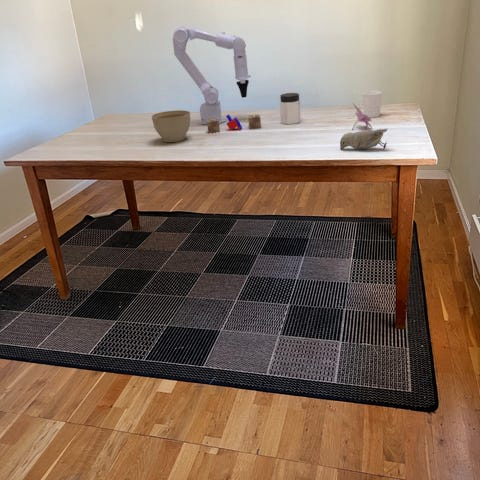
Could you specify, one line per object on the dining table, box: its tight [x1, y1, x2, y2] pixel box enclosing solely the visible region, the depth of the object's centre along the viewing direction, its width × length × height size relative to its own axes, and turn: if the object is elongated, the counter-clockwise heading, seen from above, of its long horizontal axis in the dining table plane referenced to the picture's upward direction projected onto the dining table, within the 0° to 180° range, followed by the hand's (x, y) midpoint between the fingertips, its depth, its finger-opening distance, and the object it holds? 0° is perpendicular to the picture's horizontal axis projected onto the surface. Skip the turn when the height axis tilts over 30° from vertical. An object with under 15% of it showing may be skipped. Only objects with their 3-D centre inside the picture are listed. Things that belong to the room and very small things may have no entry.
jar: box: [279, 92, 301, 125], centre depth 219 cm, size 9×8×12 cm
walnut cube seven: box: [206, 119, 221, 134], centre depth 218 cm, size 5×5×5 cm
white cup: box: [362, 90, 383, 119], centre depth 216 cm, size 8×8×10 cm
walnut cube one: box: [247, 114, 262, 130], centre depth 217 cm, size 5×5×5 cm
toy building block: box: [225, 114, 243, 131], centre depth 217 cm, size 4×4×8 cm
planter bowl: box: [150, 109, 191, 143], centre depth 209 cm, size 16×16×11 cm
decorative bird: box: [339, 128, 388, 151], centre depth 174 cm, size 5×16×7 cm, turn 73°
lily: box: [351, 102, 373, 131], centre depth 199 cm, size 12×12×10 cm
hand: (244, 97), depth 229 cm, fingers closed
